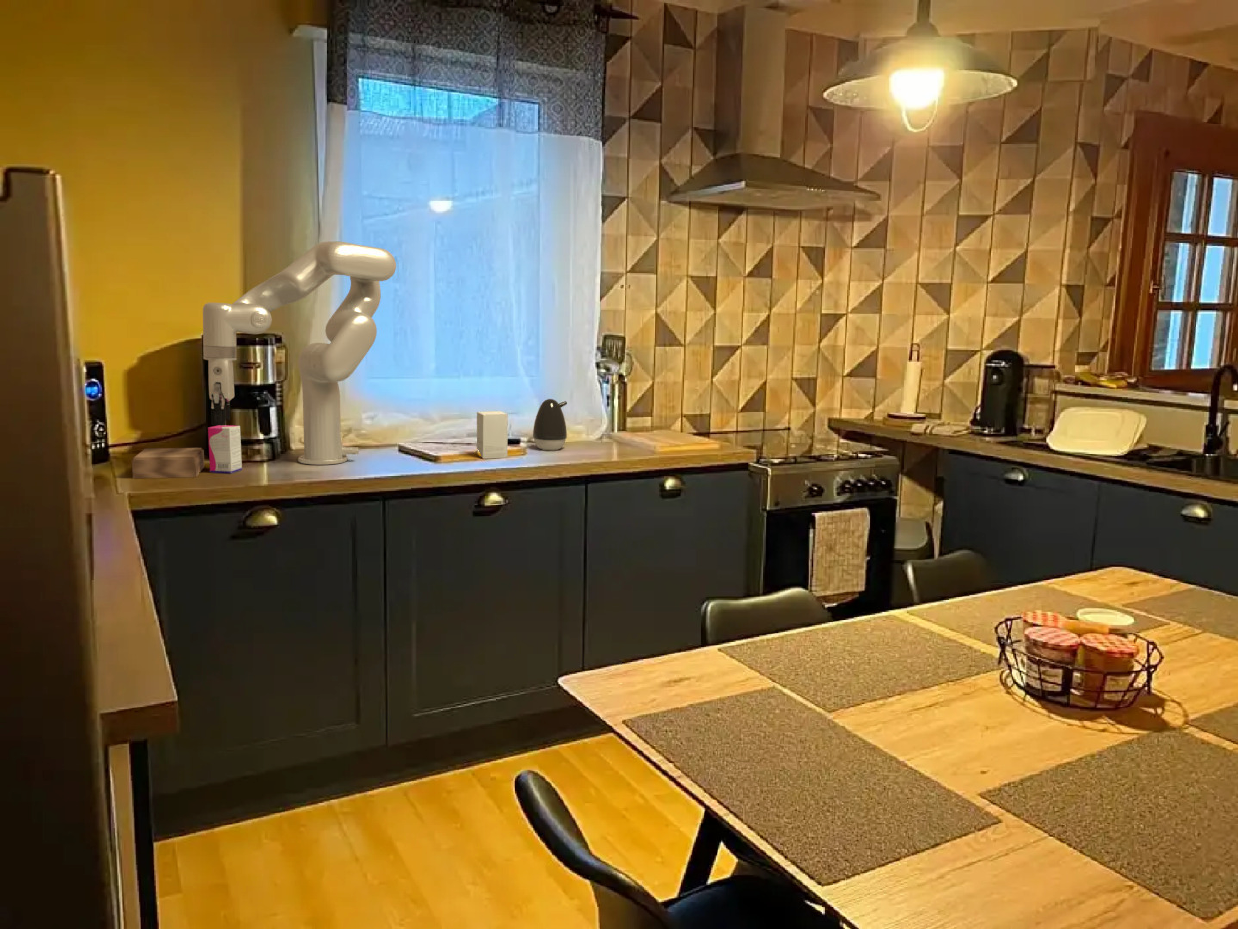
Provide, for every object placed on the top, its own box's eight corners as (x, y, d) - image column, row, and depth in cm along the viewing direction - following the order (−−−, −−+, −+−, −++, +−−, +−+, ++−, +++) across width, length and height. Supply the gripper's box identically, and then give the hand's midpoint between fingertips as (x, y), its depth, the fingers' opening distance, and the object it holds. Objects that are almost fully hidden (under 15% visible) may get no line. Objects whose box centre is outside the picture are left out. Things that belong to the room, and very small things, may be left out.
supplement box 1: (242, 469, 246) (241, 425, 244) (231, 474, 240) (229, 428, 238) (221, 468, 246) (219, 424, 244) (209, 473, 240) (206, 427, 238)
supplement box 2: (508, 458, 273) (508, 413, 271) (482, 459, 271) (482, 414, 269) (501, 453, 280) (501, 410, 278) (476, 454, 277) (476, 411, 275)
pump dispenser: (572, 451, 289) (573, 400, 286) (539, 452, 284) (540, 401, 282) (559, 445, 298) (560, 396, 295) (527, 447, 293) (528, 397, 291)
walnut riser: (204, 466, 248) (203, 447, 247) (196, 477, 235) (195, 456, 234) (144, 467, 244) (143, 448, 243) (132, 478, 231) (131, 457, 230)
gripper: (232, 356, 230) (233, 427, 233) (240, 352, 247) (240, 419, 250) (198, 355, 228) (199, 426, 231) (208, 351, 245) (209, 418, 248)
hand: (220, 422), depth 240 cm, fingers open, 9 cm apart
